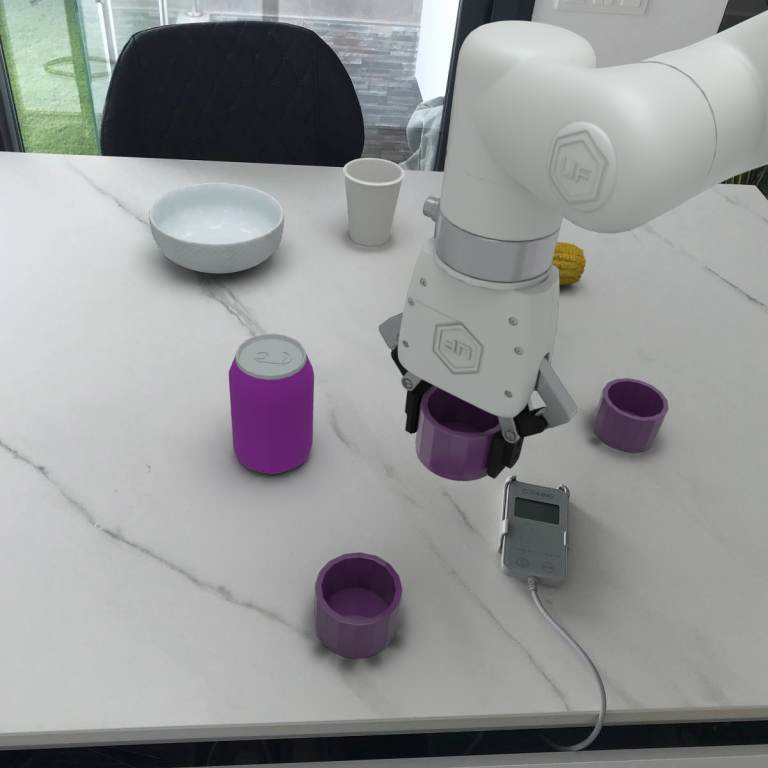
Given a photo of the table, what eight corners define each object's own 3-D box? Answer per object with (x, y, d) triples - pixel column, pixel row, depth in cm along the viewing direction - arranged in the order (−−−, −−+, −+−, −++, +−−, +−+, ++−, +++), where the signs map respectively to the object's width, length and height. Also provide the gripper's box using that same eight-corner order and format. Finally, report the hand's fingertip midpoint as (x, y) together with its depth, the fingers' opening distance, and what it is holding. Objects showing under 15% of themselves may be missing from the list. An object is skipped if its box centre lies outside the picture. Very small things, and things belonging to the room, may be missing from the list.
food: (572, 273, 107) (582, 234, 103) (581, 295, 103) (592, 256, 99) (421, 265, 105) (426, 226, 102) (424, 288, 101) (429, 248, 97)
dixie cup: (365, 256, 106) (370, 189, 100) (328, 231, 111) (330, 165, 104) (410, 240, 111) (417, 174, 104) (372, 217, 115) (377, 152, 109)
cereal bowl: (197, 308, 94) (193, 257, 89) (131, 250, 103) (124, 201, 98) (309, 266, 103) (310, 218, 99) (239, 217, 112) (237, 171, 108)
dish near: (404, 652, 60) (410, 619, 57) (319, 663, 59) (321, 630, 56) (388, 582, 65) (392, 548, 62) (309, 591, 64) (310, 557, 61)
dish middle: (511, 476, 58) (522, 433, 56) (426, 485, 57) (433, 441, 54) (485, 419, 63) (493, 376, 61) (406, 426, 62) (412, 382, 59)
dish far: (666, 449, 81) (679, 417, 78) (607, 454, 79) (619, 422, 76) (638, 407, 86) (650, 376, 83) (583, 412, 84) (593, 380, 81)
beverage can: (228, 478, 73) (221, 379, 65) (238, 422, 79) (232, 326, 71) (310, 481, 73) (312, 383, 66) (314, 426, 79) (316, 330, 72)
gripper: (350, 214, 50) (340, 420, 61) (598, 316, 43) (535, 530, 54) (415, 179, 55) (396, 376, 66) (648, 265, 47) (581, 470, 59)
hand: (458, 443), depth 60 cm, fingers closed on dish middle, 6 cm apart
